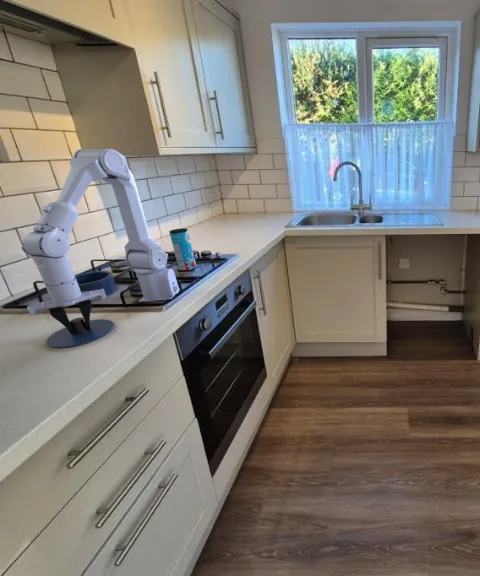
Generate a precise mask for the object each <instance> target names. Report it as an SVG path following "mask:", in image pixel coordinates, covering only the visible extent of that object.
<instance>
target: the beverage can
mask: <svg viewBox="0 0 480 576" xmlns="http://www.w3.org/2000/svg"><path fill="white" fill-rule="evenodd" d="M168 232H169V236H170V240H171V244H172V248H173V251H174V255H175V259H176V263H177V267H178V270H179V271H180V272H191V271H194V270H196V269H197V263H196V259H195V254H194V250H193V245H192V242H191V237H190V234H189V231H188V228H174V229H171V230H169V231H168Z"/></svg>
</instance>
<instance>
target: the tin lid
mask: <svg viewBox="0 0 480 576" xmlns="http://www.w3.org/2000/svg"><path fill="white" fill-rule="evenodd" d="M69 321H70V323H71V325H72V328H73V330H74V333H75V334H74V335H71V334H70V332H69V331H68V329H67V328H66V327H65V326H64V327H63V328H61V329H59V330H57V331H55V332H54V333H52V334H51V335H50V336H49V337H48V338H47V339H46V345H47V346H48V347H49V348H52V349H69V348H74V347H79V346H82V345H87V344H88V343H92V342H95V341H97V340H100V339H101V338H104V337H105V336H107V335H108V334H110V333H111V332H112V331H113V330H114V328H115V323H114V321H112V320H111V319H106V318H105V319H104V318H103V319H101V318H100V319H90V328H91V330H87V328H86V325H85V321H84V318H83V317H76V318H75V317H74V318H72V319H71V320H69Z"/></svg>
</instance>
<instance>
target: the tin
mask: <svg viewBox="0 0 480 576" xmlns="http://www.w3.org/2000/svg"><path fill="white" fill-rule="evenodd" d="M75 278H76V280H77V283H78V285H79V288H80V291H81V292H87V291H94V290H100V289H104V292H105V294H106V297H108V296H111V295H112V294H113V293H115V292H116V291H117V290H118V289H117V284H116V282H115V278H114V276H113V273H112V272H110V271H108V270H106V269H105V270H98V271H90V272H85V273H84V272H83V273H80V274H76V275H75Z"/></svg>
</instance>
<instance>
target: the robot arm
mask: <svg viewBox="0 0 480 576" xmlns="http://www.w3.org/2000/svg"><path fill="white" fill-rule="evenodd" d="M69 166H70V169H69V172H68V174H67V177H66V179H65V181H64V184H63V186H62V189H61V191H60V193H59V196H58V198H57V200H56V201H51V202H48V203H47V204H46V205H43V206H42V208H41V211H42V214H41V216H40V218H39V219H38V222H37V224H35V225H34V226H33V228H32V229H33V231H31V232H30V233H27V234H26V235H25V236H24V238H23V240H22V246H21V247H20V249H21V250H22V252H23V253H25V254H26V255H27V256H29V257H31V258H32V260H33V263H34V264H35V265H36V267H37V270H38V272H39V274H40V277H41V279H42V282H43V284H44V286H45V289H46V291H47V293H48V295H49V299H47V300H44V301H41V302H38V303H34V304H30V305H27V311H28V313H29V315H30V317H33V316H37V314H40V313H45V312H48V311H49V313H50V314H49V315H50V316H51V317H52V318H53V319H55V320H56V321H58V322H59V323H60V324H61V325H62V326H64V328H65V327H66V328H67V329H68V331H69V332H70V334H71V335H74V334H75V333H74V330H73V328H72V325H71V323H70V321H71V320H70V318H69V317H68V314H67V312H66V309H65V308H66V307H69V306H73V305H74V306H75V305H78V309H79V311H80V313H81V315H82V318H83V319H84V322H85V325H86V328H87V330H91V328H90V320H91V319H90V318H91V311H92V306H93V304H92V301H94V300H99V299H107V297H108V296H106V294H105V292H104V289H100V290H94V291H87V292H81V291H80V288H79V285H78V283H77V280H76V278H75V276H76V275H75V273H74V270H73V268H72V265H71V263H70V260H69V257H68V255H67V253H68V251H69V250H70V248H71V243H70V241H69V240H70V239H69V238H70V233H71V231H72V229H73V227H74V225H75V223H76V221H77V219H78V217H79V212H78V211H77V209H76V207H77V206H78V205H79V203H80V201H81V199H82V197H83V196H84V194H85V193H86V192H87V189H88V188H89V187H90V185H91V183H93V182H95V181H99V180H102V181H104V182H106V183H107V184H109V185H110V186H111V187H112V190H113V193H114V196H115V200H116V204H117V206H118V209H119V213H120V216H121V220H122V223H123V226H124V229H125V233H126V235H127V239H128V241H127V243H126V244H125V245H124V251H125V255H124V256H125V257H124V261H125V263H126V265H127V266H128V267H129V268H131V269H132V270H133V272H134V273H135V274H136V277H137V280H138V284H139V287H140V290H141V293H142V297H141V298H140V299H139V300H138V302H141V303H142V302H152V301H161V300H172V299H173V298H174V297H175V295H176V294H178V293H179V292H180V291H181V288H180V287H179V285H178V280H177V277H176V273H175V270H174V269H173V268H166V265H167V263H168V257H167V254H166V252H165V251H164V250H163V248H162V244H161V243H159V242H158V241H156V240H155V239H153V238H152V237H151V234H150V229H149V227H148V222H147V220H146V215H145V212H144V209H143V204H142V201H141V198H140V194H139V190H138V187H137V183H136V179H135V176H134V174H133V173H132V171H131V169H130V168H129V166H128V162H127V159H126V156H125V155H123V154H122V153H120V152H119V151H117V150H116V149H114V148H103V149H102V148H101V149H100V148H99V149H98V148H97V149H96V148H95V149H92V148H91V149H85V148H80V149H77V150H76V151H75V152H74V153H73V156H72V158H71V159H70V160H69Z"/></svg>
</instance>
